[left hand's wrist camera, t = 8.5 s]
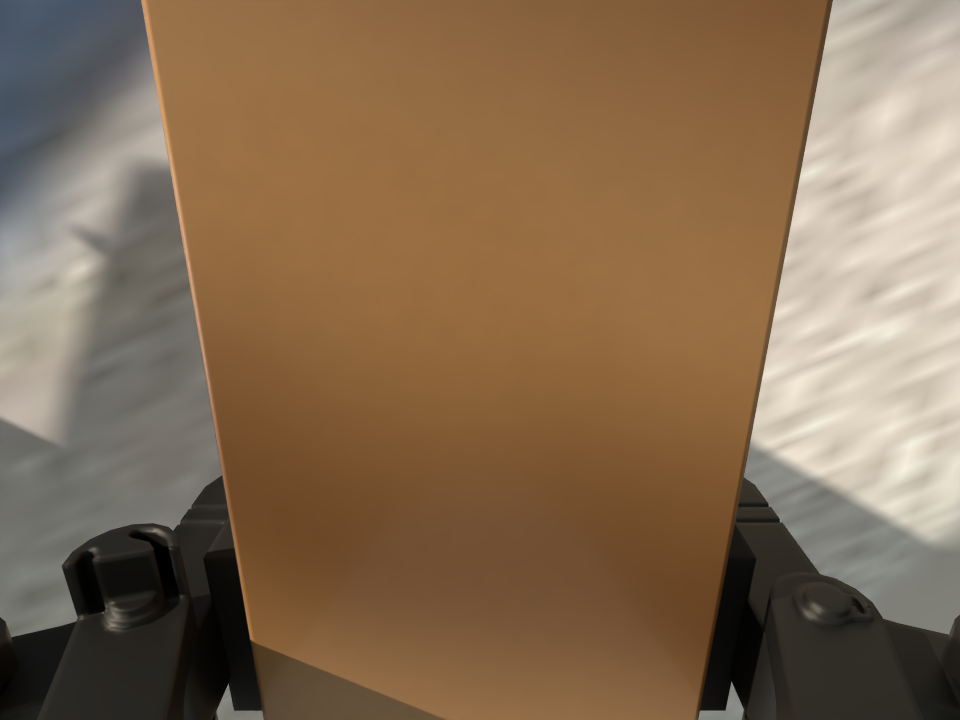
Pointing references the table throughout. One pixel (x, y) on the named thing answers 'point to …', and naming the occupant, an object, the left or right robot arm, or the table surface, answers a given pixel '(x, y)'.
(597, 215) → the beam
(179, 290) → the table surface
